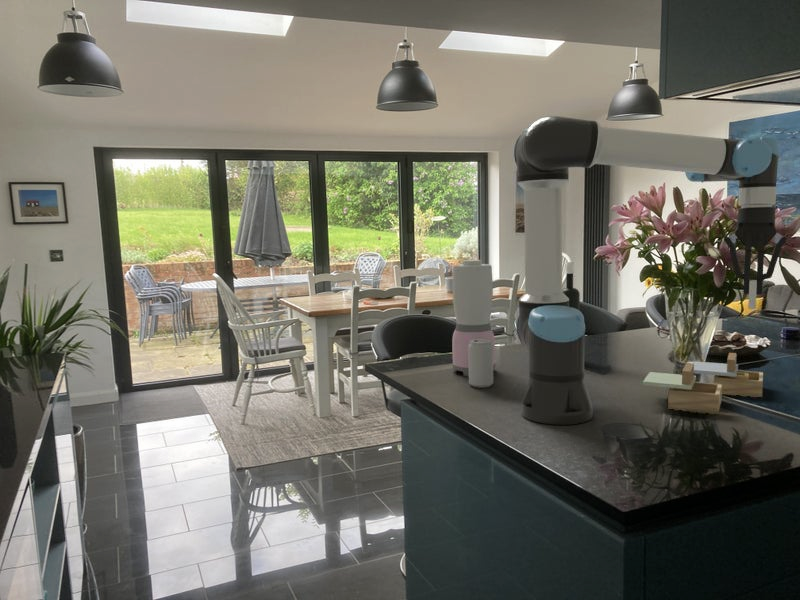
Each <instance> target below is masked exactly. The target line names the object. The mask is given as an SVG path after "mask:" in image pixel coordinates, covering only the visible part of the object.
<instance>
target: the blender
mask: <svg viewBox="0 0 800 600" xmlns="http://www.w3.org/2000/svg"><path fill="white" fill-rule="evenodd" d="M492 269H493V268H492V265H491V264H490V263H482V260H481V259H464V260H463V261H462V263H461V264H455V265H453V266H452V302H453V310H454V315H455V321H456V326H455V329H454V331H453V333H452V339H451V340H452V341H451V342H452V346H451V347H452V348H451V349H452V369H453V370H455V371H457V372H458V371H459V372H462V373H463V374H462V375H463V377H469V356H468V345H469V344H470V340H473V339H488V340H491V343H492V345H493V370H495V368H496V348H495V347H496V341H495V339H496V338H495V334H494V332H493V330H492V327H491V315H492V308H493V300H494V297H493V295H494V288H493V287H494V282H493V270H492Z"/></svg>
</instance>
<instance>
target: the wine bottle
mask: <svg viewBox="0 0 800 600" xmlns="http://www.w3.org/2000/svg"><path fill="white" fill-rule="evenodd" d="M565 274H566V276H565V278H566V280H565V283H566V284H565V285H566V287H564V288H562V291H563V293H564V294H565V295H566V296H567V297H568V298H569V307H572V308H575V309H577V310H579V311H580V312H581V309H580V307H581V306H580V303H581V302H580V299H581V298H580V297H581V294H580V291H579V289H577V288H576V287H574V262H573V261H566V263H565Z"/></svg>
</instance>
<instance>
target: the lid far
mask: <svg viewBox="0 0 800 600" xmlns="http://www.w3.org/2000/svg"><path fill="white" fill-rule="evenodd" d="M691 364H694V374H696V375H697V374H698V375H709V376H710V375H711V376H715V375H720V376H732V377H736V375H737V370H739V364H737V353H736V352H729V353H728V355H727V360H726V363H721V362H720V363H719V362H707V361H706V362H705V361H692V363H691Z"/></svg>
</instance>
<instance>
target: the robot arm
mask: <svg viewBox="0 0 800 600" xmlns="http://www.w3.org/2000/svg"><path fill="white" fill-rule="evenodd" d="M778 144H779V142H778V139H777V138H776V137H773V136H757V137H756V136H755V137H747V138H744V139H734V138H732V139H731V138H721V137H711V136H710V137H709V136H702V135H691V134H679V133H670V132H669V133H667V132H662V131H661V132H658V131H649V130H637V129H628V128H627V129H626V128H618V127H607V126H601V125H600V123H599V122H598V121H597V120H587V119H581V118H573V117H567V116H566V117H565V116H560V115H558V116H557V115H555V116H552V115H548V116H544V117H542V118H539V119H537V120H536V121H534V122H532V124H530V125H529V126H528V127H527V128H525V129H524V130H523V131H522V132H521V133H520V134H519V136H518V137H517V139H516V142H515V144H514V147H513V158H514V162H515V165H516V174H517V175H516V177H517V179H516V181H517V185H518V186H519V187H520V188H521V189H522V190H523V196H524V197H523V203H524V204H523V206H524V209H523V210H524V211H523V212H524V213H523V214H524V215H523V216H524V271H525V272H524V276H525V277H524V278H525V279H524V281H525V282H524V283H525V284H524V288H525V291H524V293H523V294H522V295H521V296H520V298H518V312H519V313H518V317H517V321H516V326H515V327H516V335H517V338H518V340H519V341H520V343H521V344H522V345H523V347H524V348H526V349H527V351H529V354H528V356H529V358H528V359H529V361H528V362H529V364H528V365H529V376H528V377H529V379H528V384H527V386H526V390H525V393H524V395H523V398H522V402H521V415H522V417H524V418H526V419H527V420H529V421H532V422H534V423H535V422H536V423H541V424H546V425H559V426H560V425H561V426H565V425H577V424H582V423H586V422H588V421H590V420H591V419H593V410H594V409H593V404H592V401H591V398H590V394H589V391H588V388H587V386H586V382H585V332H586V324H585V317H584V314H583V313H582V312H581V310H580V311H579V310H577V309H575V308H572V307H569V298H568V297H567V296H566V295H565V294H564V293H563V291H562V289H563V195H562V194H563V188H564V187H565V185H567V184H568V182H569V169H570V168H585V169H590V168H591V167H593V166H594V165H603V166H615V167H616V166H617V167H627V168H637V169H638V168H639V169H647V170H648V169H649V170H657V171H658V170H659V171H671V172H672V171H673V172H683V173H685V177H686V178H687V180H688V181H690V182H691V183H692V182H695V183H697V182H698V183H706V182H710V183H711V182H731V181H733V182H738V199H737V200H738V201H737V202H738V203H737V205H738V206H741V207H740V208H738V209H737V224H736V225H737V226H736V229H735V230H734V232H733V233H732V234H731V235H728V236H726V237H725V238H724V239H723V240H724V242H725V244H726V245H727V247H728V249H729V254H730V258H731V262H732V263H731V264H732V267H733V270H734V271H733V272H734V275H735V277H736V278H738V279H741V280H742V281H743V295H748V303H747V304H748V310H756V307H757V295H762V293H763V283H764V280H768V279H771V278H773V274H774V272H775V268H776V264H777V261H778V259H779V255H780V253H781V249H782V247H783V246H784V245H785V243H786V242H787V241H788V237H786V236H783V235H782V234H780V233H779V232H778V230H777V228H776V226H775V225H776V223H775V222H776V208H775V207H774V206H773V205H776V201H777V182H778V181H777V180H778V179H777V178H778V165H779V164H778V162H779V159H780V158H779V145H778ZM737 239H738V240H739V242H740V243H741V244H742V245H743V246H744V247H745V248H744V267H743V268H744V271H743V272H744V273H743V272H742V270H741V266H740V262H739V258H738V254H737V253H738V252H737V249H736V245H735V244H737ZM773 239H774V243H775V246H774V249H773V252H772V255H771V258H770V261H769V263H768V267H767V269H766V272H765V273H764V262H765V261H764V259H765V257H764V256H765V247H766V246H767V245H768V244H769V243H770V242H771V241H772V240H773ZM753 247H757V261H756V262H757V264H756V266H757V267H756V280H755V279H751V267H752V266H751V265H752V263H751V262H752V249H753Z"/></svg>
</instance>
